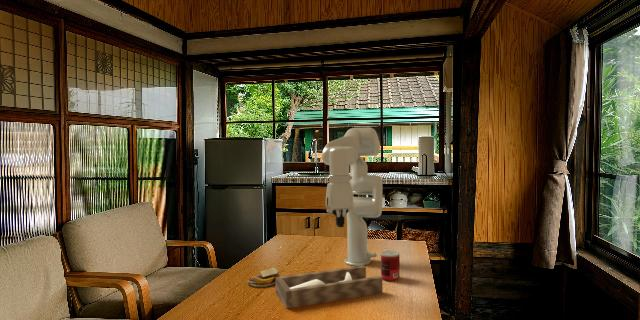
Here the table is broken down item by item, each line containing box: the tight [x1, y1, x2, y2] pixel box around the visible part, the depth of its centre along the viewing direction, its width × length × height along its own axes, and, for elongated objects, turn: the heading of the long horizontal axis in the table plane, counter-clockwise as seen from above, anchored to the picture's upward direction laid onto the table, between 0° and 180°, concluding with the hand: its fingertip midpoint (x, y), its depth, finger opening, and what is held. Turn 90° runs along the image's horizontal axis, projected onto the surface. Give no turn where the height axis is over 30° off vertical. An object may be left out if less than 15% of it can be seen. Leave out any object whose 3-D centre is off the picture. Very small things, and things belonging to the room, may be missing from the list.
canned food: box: [380, 250, 401, 283], centre depth 166 cm, size 8×8×11 cm
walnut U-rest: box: [274, 265, 383, 310], centre depth 152 cm, size 38×16×6 cm, turn 110°
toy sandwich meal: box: [246, 267, 281, 288], centre depth 164 cm, size 12×14×5 cm
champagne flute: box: [290, 272, 352, 289], centre depth 148 cm, size 7×7×24 cm
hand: (340, 226), depth 153 cm, fingers closed
